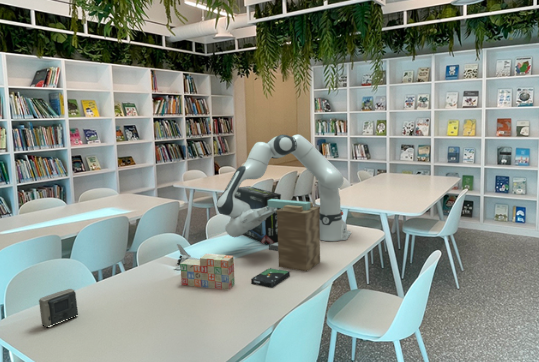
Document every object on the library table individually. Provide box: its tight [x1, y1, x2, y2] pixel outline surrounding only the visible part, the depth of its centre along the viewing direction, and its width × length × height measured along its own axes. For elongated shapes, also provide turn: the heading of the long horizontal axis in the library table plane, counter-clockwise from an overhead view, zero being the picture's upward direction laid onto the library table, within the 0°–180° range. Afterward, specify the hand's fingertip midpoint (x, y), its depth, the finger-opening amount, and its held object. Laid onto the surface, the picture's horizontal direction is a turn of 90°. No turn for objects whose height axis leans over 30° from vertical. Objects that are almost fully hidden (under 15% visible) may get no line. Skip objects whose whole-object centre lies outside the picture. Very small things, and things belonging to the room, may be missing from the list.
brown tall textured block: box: [276, 201, 321, 272], centre depth 196 cm, size 15×15×28 cm
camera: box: [38, 288, 79, 328], centre depth 148 cm, size 11×6×10 cm, turn 140°
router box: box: [234, 185, 282, 246], centre depth 245 cm, size 36×11×27 cm, turn 32°
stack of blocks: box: [179, 253, 236, 291], centre depth 177 cm, size 21×6×12 cm, turn 72°
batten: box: [268, 199, 311, 210], centre depth 197 cm, size 4×20×3 cm, turn 58°
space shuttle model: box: [174, 244, 200, 271], centre depth 199 cm, size 16×25×10 cm, turn 66°
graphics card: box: [268, 242, 278, 252], centre depth 229 cm, size 10×3×25 cm
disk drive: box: [250, 267, 291, 289], centre depth 181 cm, size 10×3×15 cm
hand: (272, 206), depth 202 cm, fingers open, 8 cm apart
